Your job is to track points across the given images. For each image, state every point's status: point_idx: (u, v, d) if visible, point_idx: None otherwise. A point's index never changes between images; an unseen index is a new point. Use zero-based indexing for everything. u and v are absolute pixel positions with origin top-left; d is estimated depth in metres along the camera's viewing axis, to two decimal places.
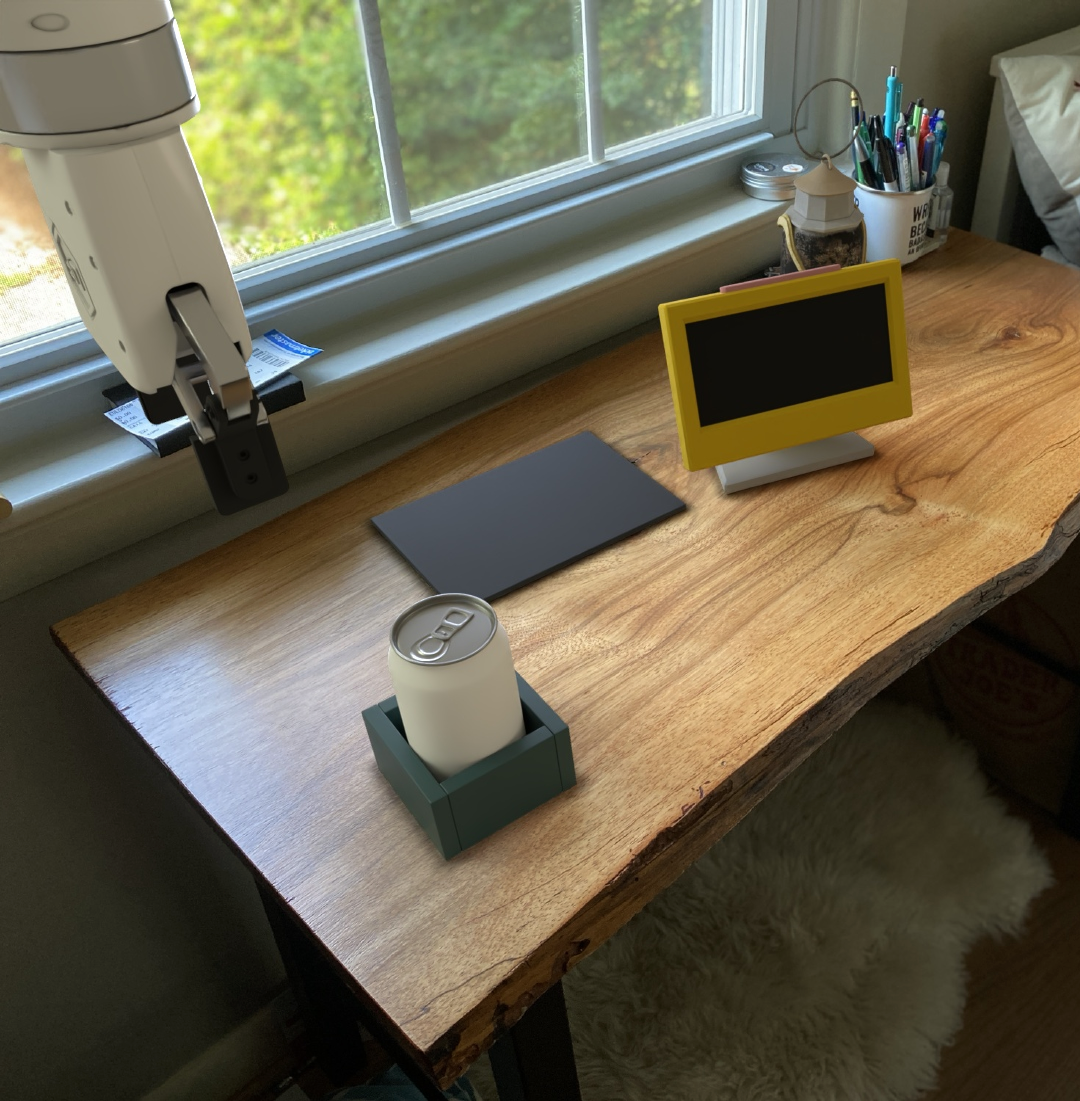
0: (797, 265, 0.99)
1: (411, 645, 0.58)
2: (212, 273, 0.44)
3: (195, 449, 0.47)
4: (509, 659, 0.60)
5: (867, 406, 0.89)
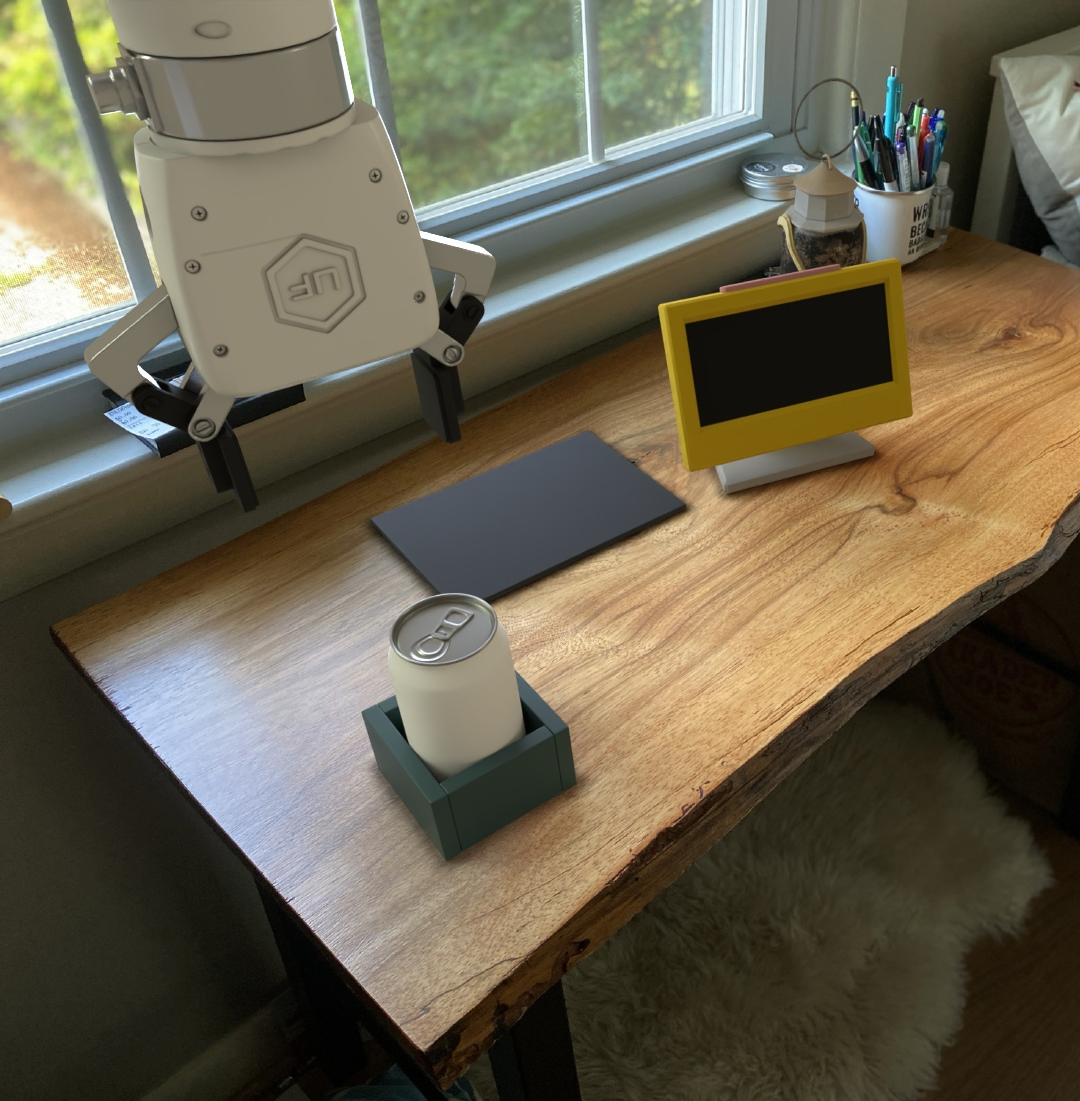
0: (797, 265, 0.99)
1: (411, 645, 0.58)
2: None
3: (448, 379, 0.51)
4: (509, 659, 0.60)
5: (867, 406, 0.89)
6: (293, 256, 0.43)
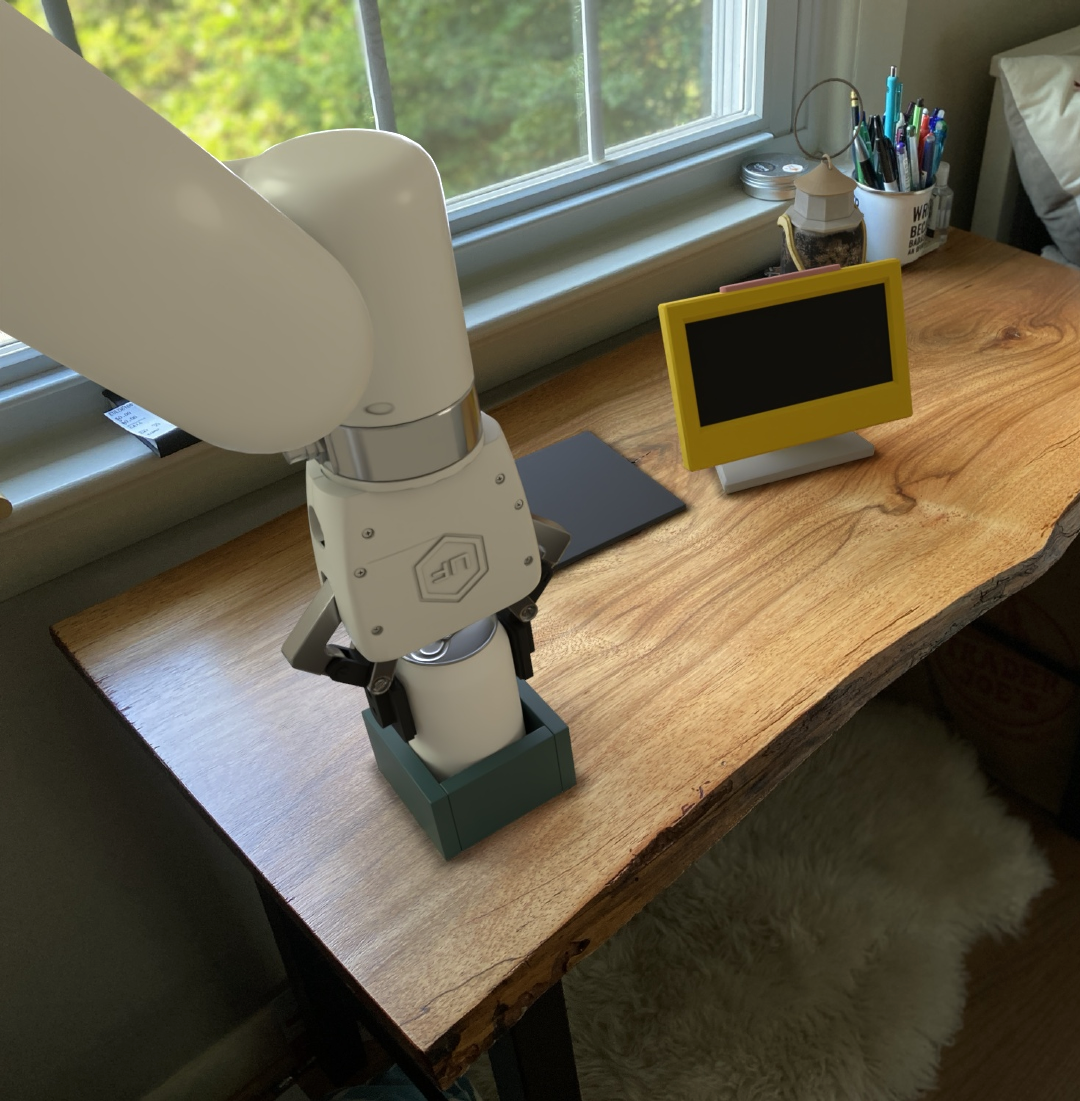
0: (797, 265, 0.99)
1: None
2: None
3: (525, 633, 0.60)
4: (509, 659, 0.60)
5: (867, 406, 0.89)
6: (436, 551, 0.52)
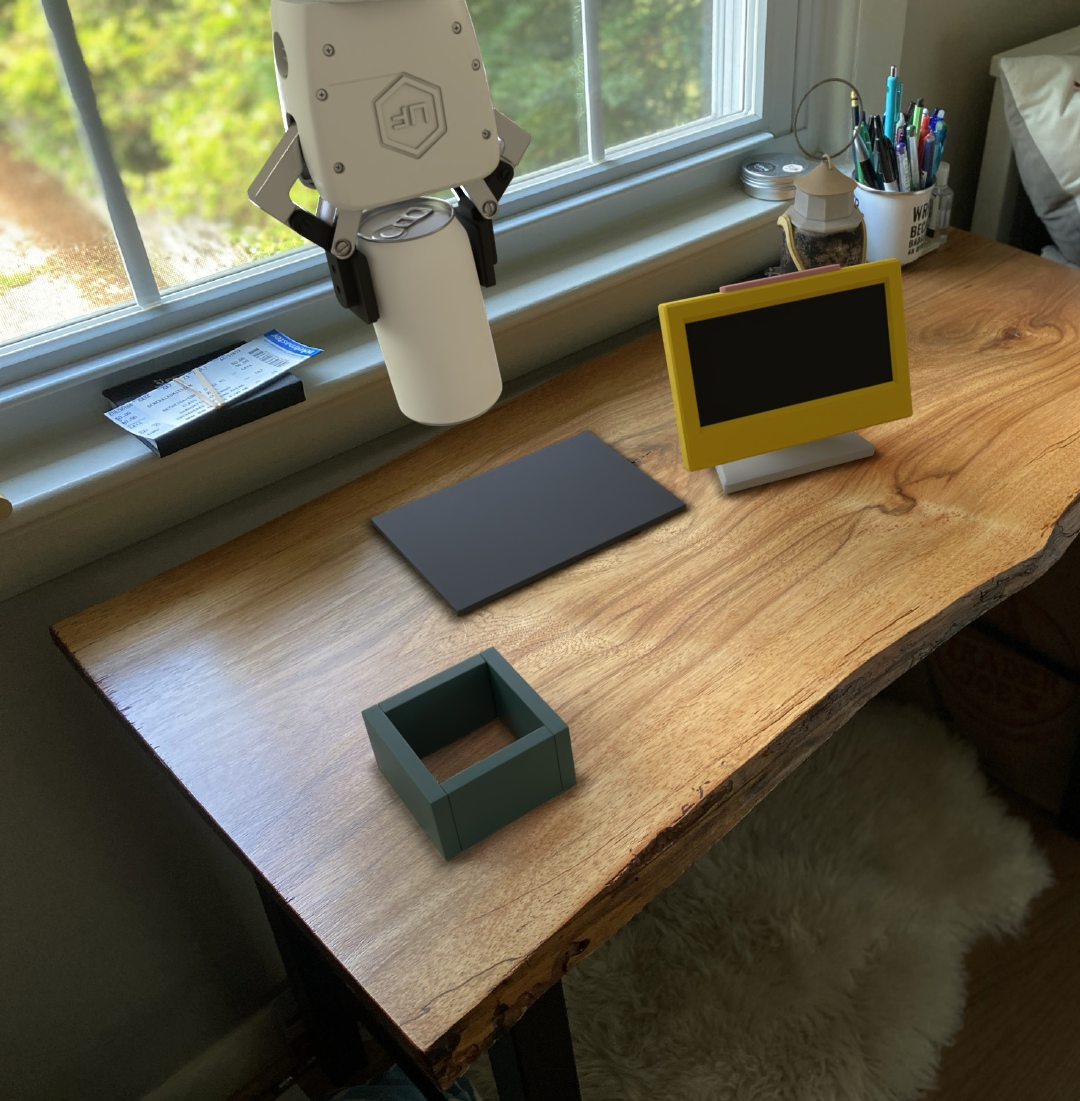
0: (797, 265, 0.99)
1: (373, 232, 0.61)
2: None
3: (486, 229, 0.63)
4: (469, 252, 0.62)
5: (867, 406, 0.89)
6: (395, 91, 0.55)
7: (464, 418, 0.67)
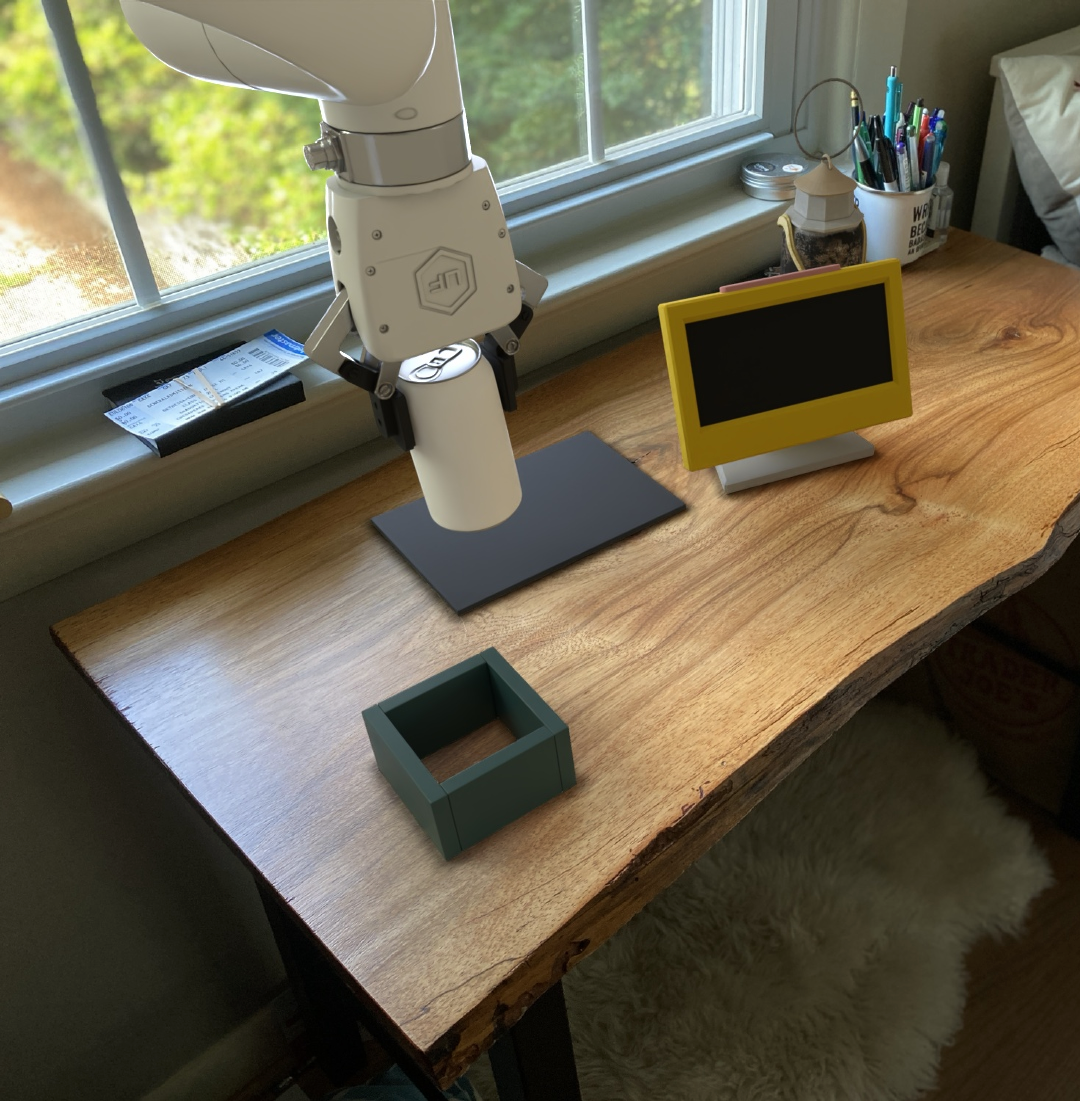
0: (797, 265, 0.99)
1: (410, 372, 0.69)
2: None
3: (509, 364, 0.71)
4: (494, 386, 0.70)
5: (867, 406, 0.89)
6: (433, 262, 0.63)
7: (489, 526, 0.75)
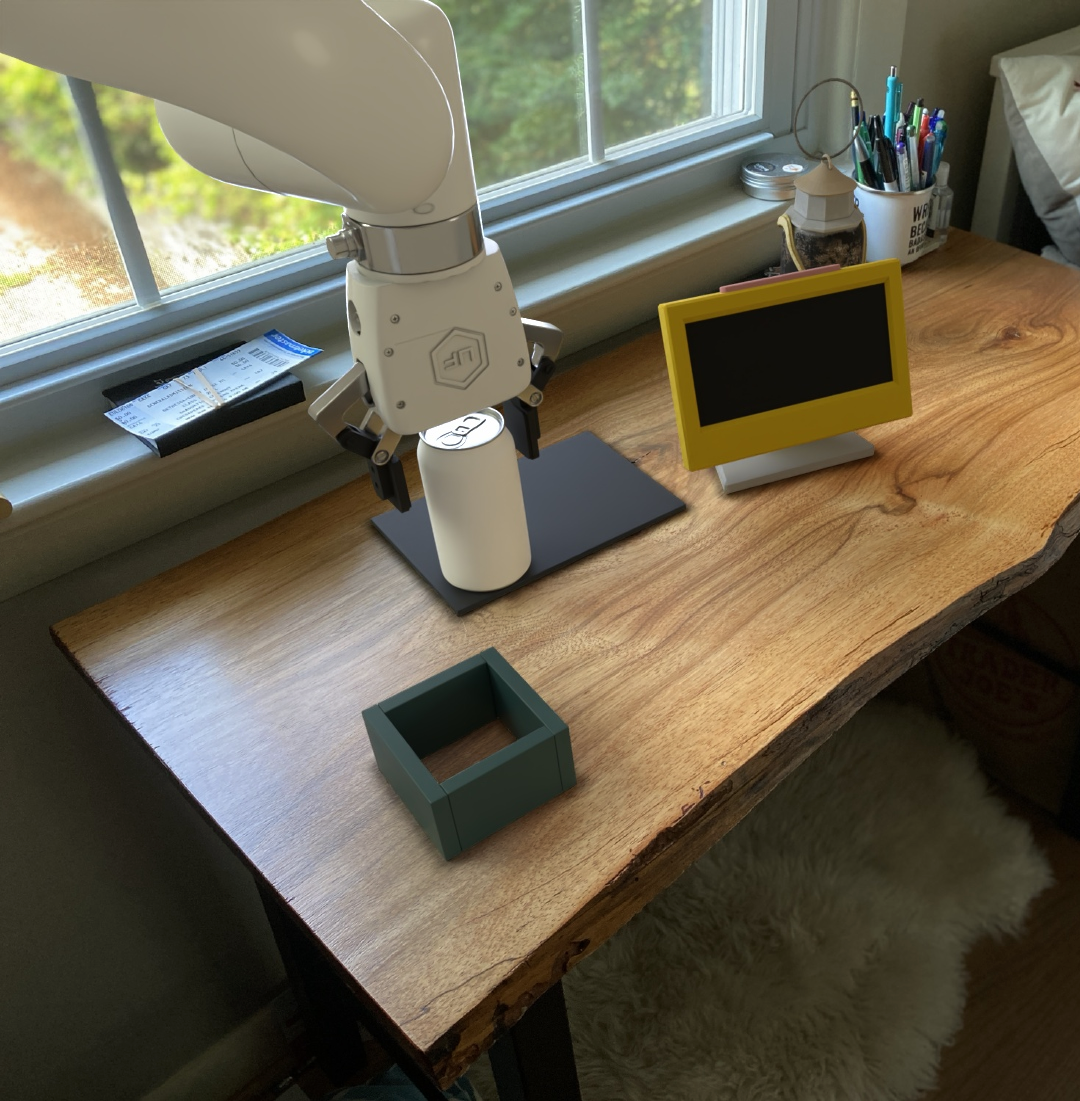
0: (797, 265, 0.99)
1: (436, 439, 0.72)
2: None
3: (533, 415, 0.74)
4: (514, 455, 0.74)
5: (867, 406, 0.89)
6: (447, 341, 0.66)
7: (499, 587, 0.78)
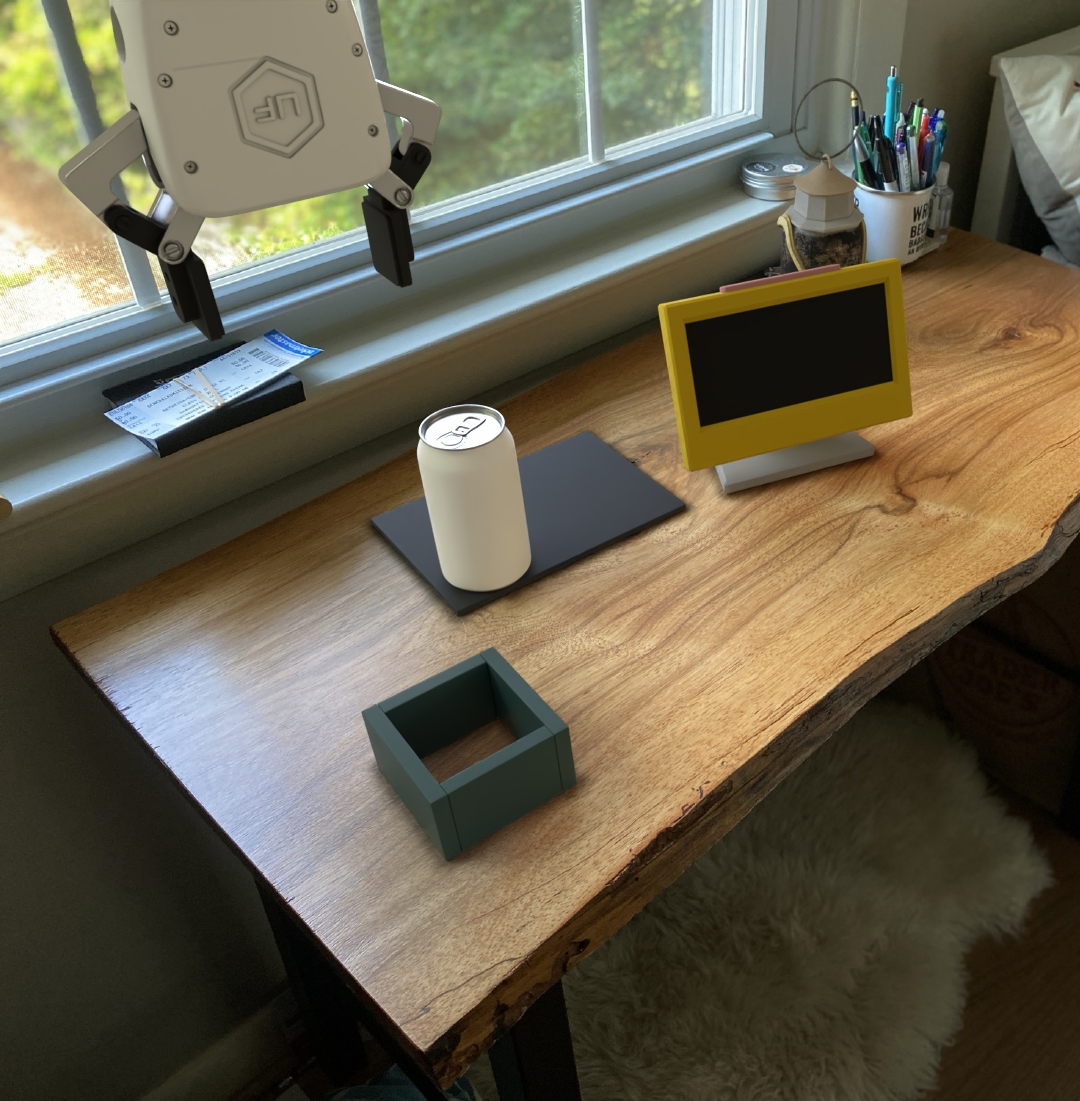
0: (797, 265, 0.99)
1: (436, 439, 0.72)
2: None
3: (399, 220, 0.55)
4: (514, 455, 0.74)
5: (867, 406, 0.89)
6: (257, 78, 0.47)
7: (499, 587, 0.78)
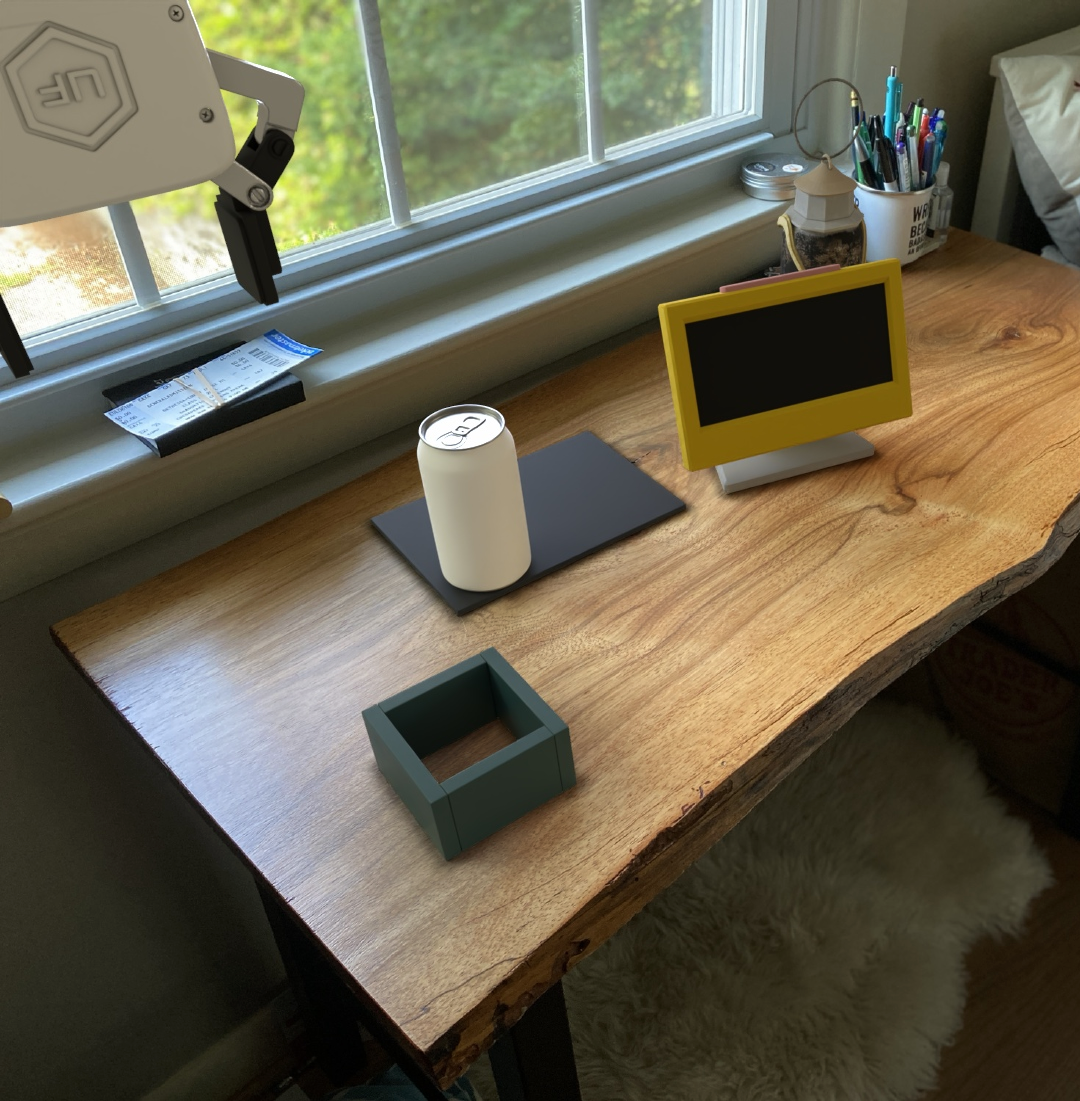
0: (797, 265, 0.99)
1: (436, 439, 0.72)
2: None
3: (255, 225, 0.45)
4: (514, 455, 0.74)
5: (867, 406, 0.89)
6: (39, 49, 0.37)
7: (499, 587, 0.78)
